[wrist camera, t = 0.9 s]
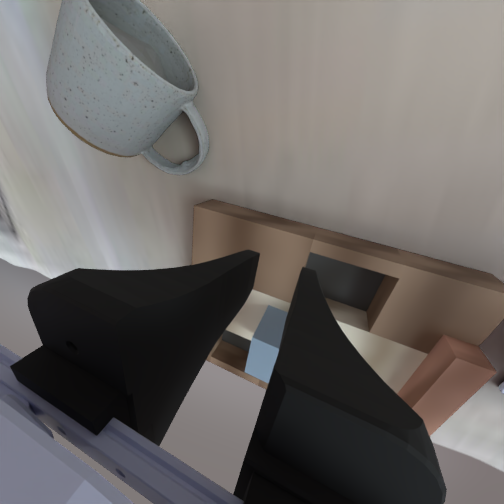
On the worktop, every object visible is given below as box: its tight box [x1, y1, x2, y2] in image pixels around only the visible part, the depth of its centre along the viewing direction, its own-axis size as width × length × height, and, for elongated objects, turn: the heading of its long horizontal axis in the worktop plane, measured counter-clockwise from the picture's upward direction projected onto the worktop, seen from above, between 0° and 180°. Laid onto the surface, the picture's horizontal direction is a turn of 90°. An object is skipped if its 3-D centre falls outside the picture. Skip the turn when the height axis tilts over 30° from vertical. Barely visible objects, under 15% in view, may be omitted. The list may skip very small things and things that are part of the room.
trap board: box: [192, 199, 504, 436], centre depth 20 cm, size 22×18×5 cm
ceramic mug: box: [46, 0, 209, 175], centre depth 16 cm, size 11×8×8 cm
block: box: [245, 305, 288, 383], centre depth 18 cm, size 4×4×4 cm
